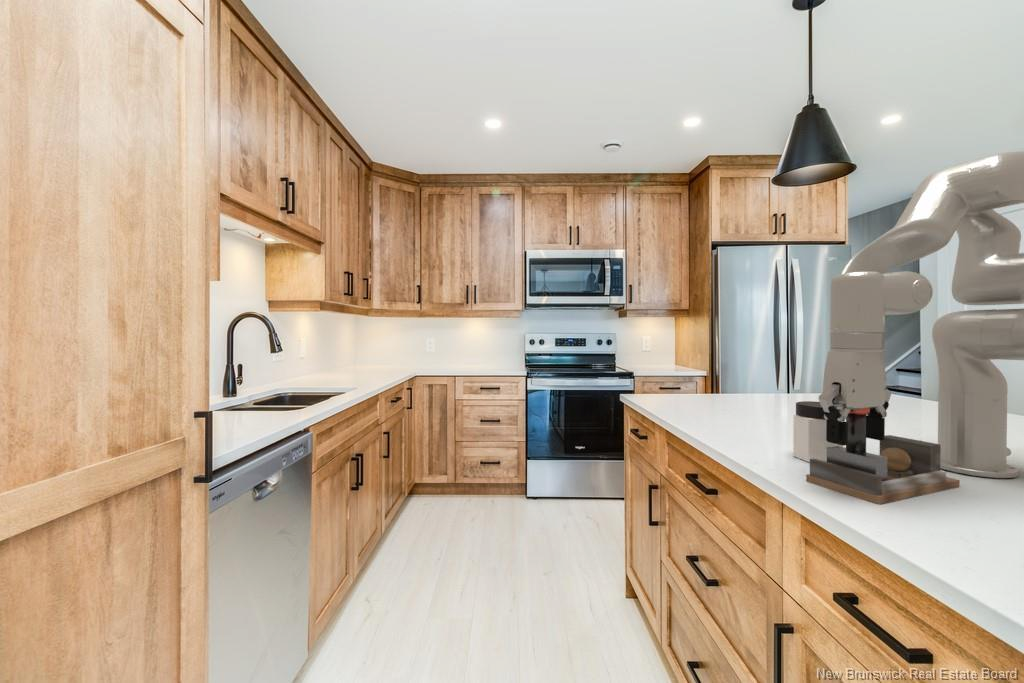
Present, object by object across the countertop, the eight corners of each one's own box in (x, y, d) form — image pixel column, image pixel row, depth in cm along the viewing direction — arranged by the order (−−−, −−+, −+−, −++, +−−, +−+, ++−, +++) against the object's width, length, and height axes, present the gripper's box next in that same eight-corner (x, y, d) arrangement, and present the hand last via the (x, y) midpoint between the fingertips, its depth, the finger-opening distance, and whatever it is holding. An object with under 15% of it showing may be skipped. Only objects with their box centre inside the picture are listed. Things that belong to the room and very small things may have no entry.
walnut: (888, 466, 84) (888, 443, 84) (916, 473, 80) (916, 449, 80) (873, 469, 82) (873, 446, 82) (901, 476, 78) (901, 452, 78)
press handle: (839, 472, 82) (839, 401, 81) (888, 486, 74) (889, 408, 74) (825, 474, 80) (825, 402, 80) (874, 489, 73) (874, 410, 73)
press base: (882, 467, 89) (882, 432, 89) (959, 486, 78) (960, 446, 78) (806, 481, 82) (806, 442, 81) (879, 504, 70) (879, 459, 70)
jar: (830, 467, 90) (830, 408, 89) (787, 458, 96) (787, 403, 96) (848, 460, 95) (849, 404, 94) (806, 451, 101) (806, 399, 101)
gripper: (865, 342, 83) (864, 432, 84) (800, 343, 77) (799, 440, 78) (912, 343, 76) (911, 441, 77) (845, 344, 70) (844, 451, 71)
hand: (855, 441), depth 77 cm, fingers open, 9 cm apart
